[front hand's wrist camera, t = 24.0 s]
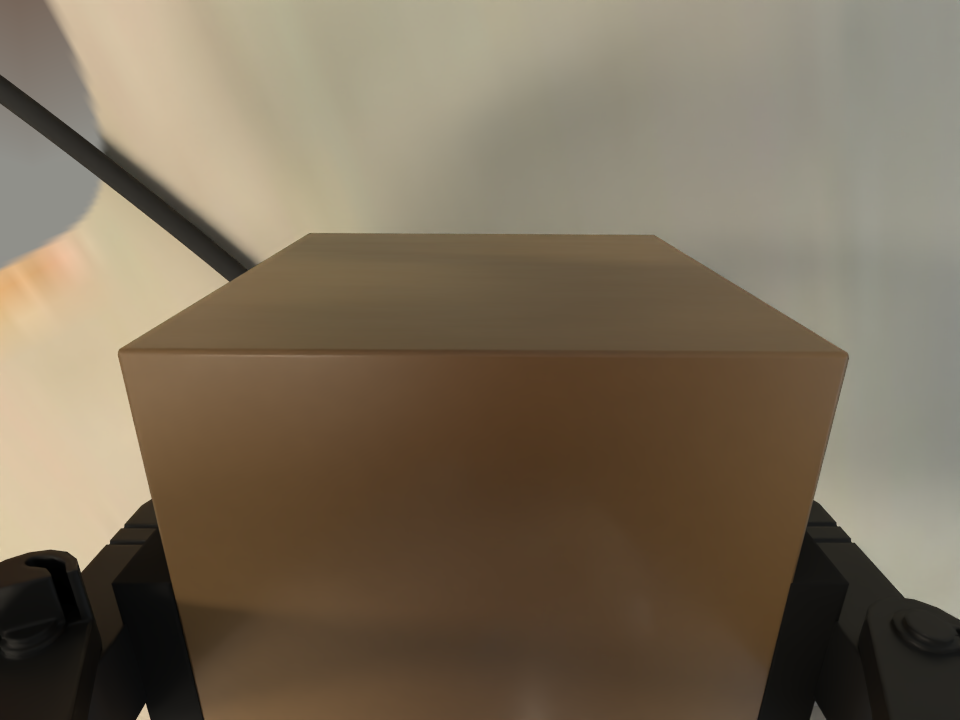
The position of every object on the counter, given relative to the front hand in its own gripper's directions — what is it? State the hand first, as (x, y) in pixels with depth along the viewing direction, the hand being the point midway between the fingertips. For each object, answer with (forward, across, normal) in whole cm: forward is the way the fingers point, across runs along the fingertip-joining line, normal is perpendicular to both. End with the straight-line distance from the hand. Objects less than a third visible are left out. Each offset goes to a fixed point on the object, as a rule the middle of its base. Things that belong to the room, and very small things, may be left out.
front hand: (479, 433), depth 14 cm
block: (+1, 0, 0) cm, 1 cm away
